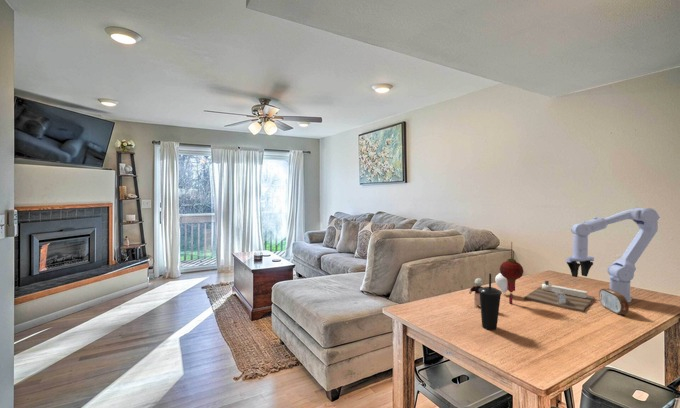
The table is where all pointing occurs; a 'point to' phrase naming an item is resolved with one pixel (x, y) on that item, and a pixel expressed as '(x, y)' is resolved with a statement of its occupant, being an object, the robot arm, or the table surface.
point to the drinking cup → (489, 306)
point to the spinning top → (501, 282)
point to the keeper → (560, 296)
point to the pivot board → (551, 299)
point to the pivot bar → (566, 290)
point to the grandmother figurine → (477, 292)
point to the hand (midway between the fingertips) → (579, 276)
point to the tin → (614, 301)
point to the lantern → (511, 273)
